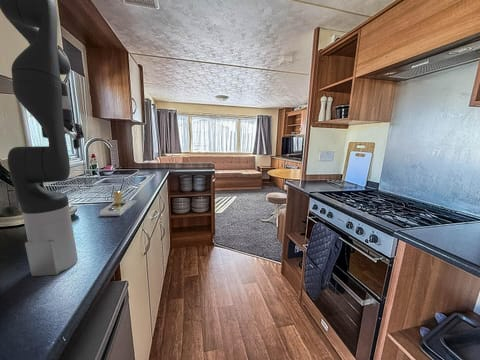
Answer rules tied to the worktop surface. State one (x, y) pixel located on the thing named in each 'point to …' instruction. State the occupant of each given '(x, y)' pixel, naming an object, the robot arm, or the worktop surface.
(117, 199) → the pin
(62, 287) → the worktop surface
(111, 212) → the grey flat block
